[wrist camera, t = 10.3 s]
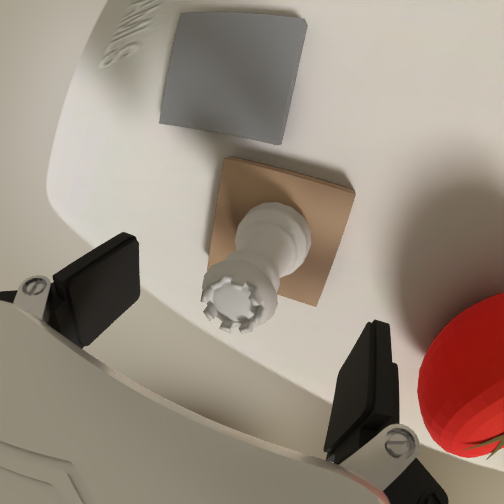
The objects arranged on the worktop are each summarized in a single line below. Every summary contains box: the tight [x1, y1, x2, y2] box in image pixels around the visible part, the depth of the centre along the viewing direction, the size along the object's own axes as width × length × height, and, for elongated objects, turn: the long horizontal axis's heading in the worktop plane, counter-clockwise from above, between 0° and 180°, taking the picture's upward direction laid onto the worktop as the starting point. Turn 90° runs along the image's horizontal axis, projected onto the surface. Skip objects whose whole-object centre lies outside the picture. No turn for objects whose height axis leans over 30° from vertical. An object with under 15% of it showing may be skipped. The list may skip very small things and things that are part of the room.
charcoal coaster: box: [159, 12, 307, 145], centre depth 15 cm, size 8×8×1 cm
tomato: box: [417, 293, 504, 460], centre depth 13 cm, size 12×12×10 cm
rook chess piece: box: [201, 202, 311, 334], centre depth 15 cm, size 4×4×8 cm
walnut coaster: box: [207, 156, 356, 307], centre depth 19 cm, size 8×8×1 cm
